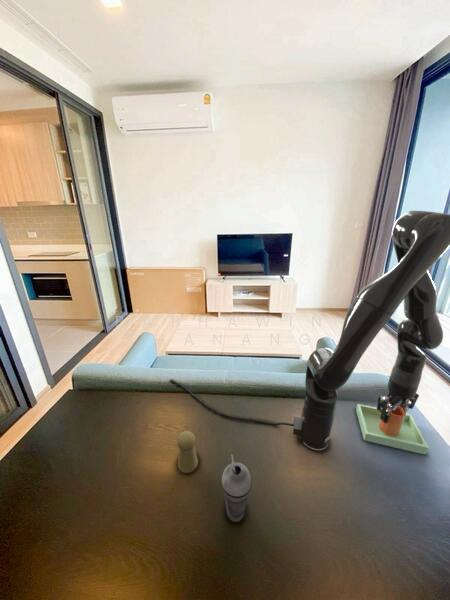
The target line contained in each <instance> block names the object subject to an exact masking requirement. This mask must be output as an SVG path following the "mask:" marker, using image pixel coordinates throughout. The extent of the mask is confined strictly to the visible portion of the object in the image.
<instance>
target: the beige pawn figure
mask: <svg viewBox="0 0 450 600" xmlns="http://www.w3.org/2000/svg"><path fill="white" fill-rule="evenodd" d="M176 442H177V443H176V444H177V447H178V449H179V450H178V457H177V467H178V469H179V471H180V472H181V473H184V474H189V473H192V472H194V471H195V470H196V468H197V467H198V464H199V459H198V456H197V451H196V447H195V445H196V436H195V435H194V433H193V432H191V431H189V430H185V431H182V432H181V433H180V434H179V435H178V437H177V440H176Z"/></svg>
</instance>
